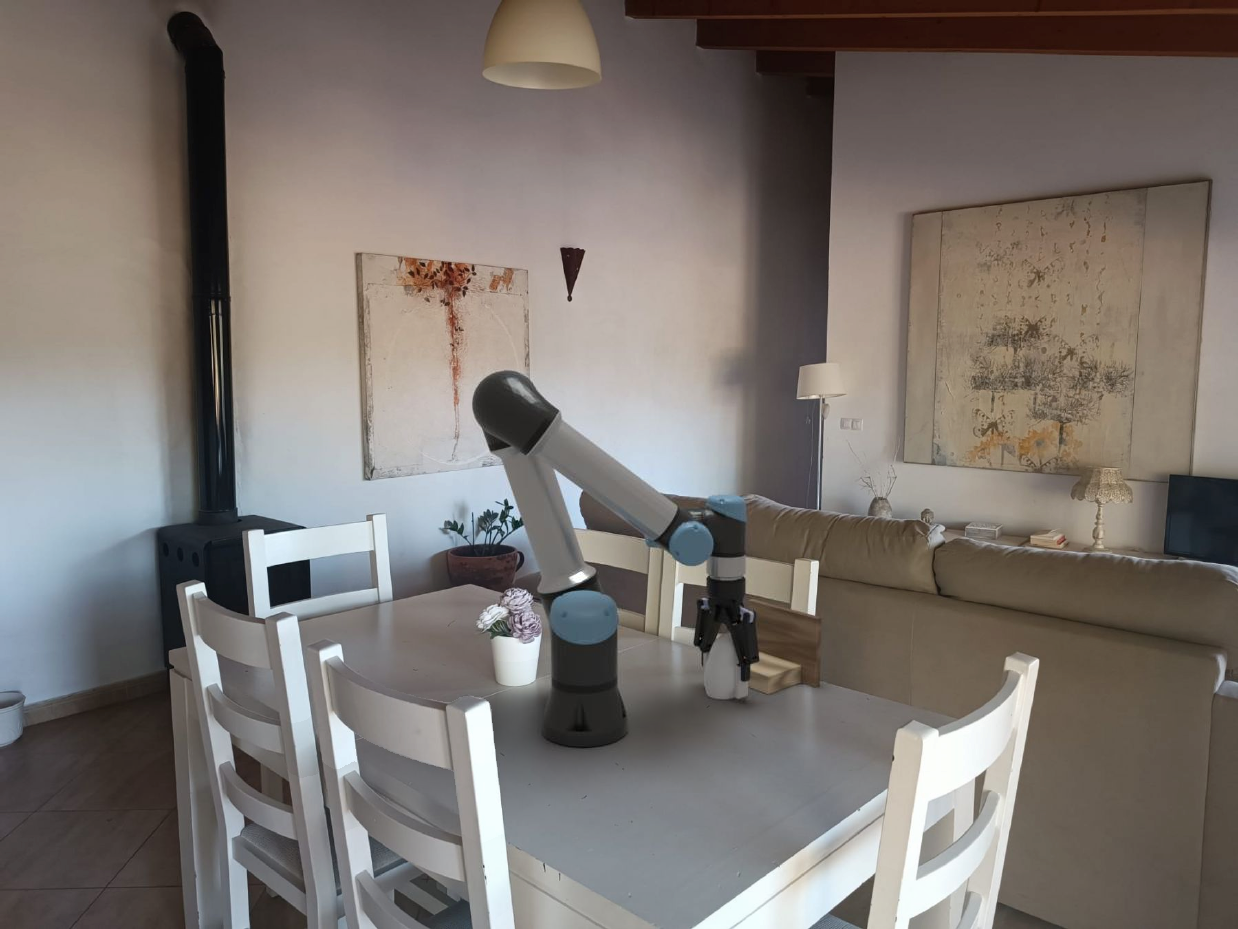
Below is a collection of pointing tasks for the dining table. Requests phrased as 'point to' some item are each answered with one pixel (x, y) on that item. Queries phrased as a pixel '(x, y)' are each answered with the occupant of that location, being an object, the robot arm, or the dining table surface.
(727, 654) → the figurine
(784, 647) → the wall board
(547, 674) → the dining table surface
